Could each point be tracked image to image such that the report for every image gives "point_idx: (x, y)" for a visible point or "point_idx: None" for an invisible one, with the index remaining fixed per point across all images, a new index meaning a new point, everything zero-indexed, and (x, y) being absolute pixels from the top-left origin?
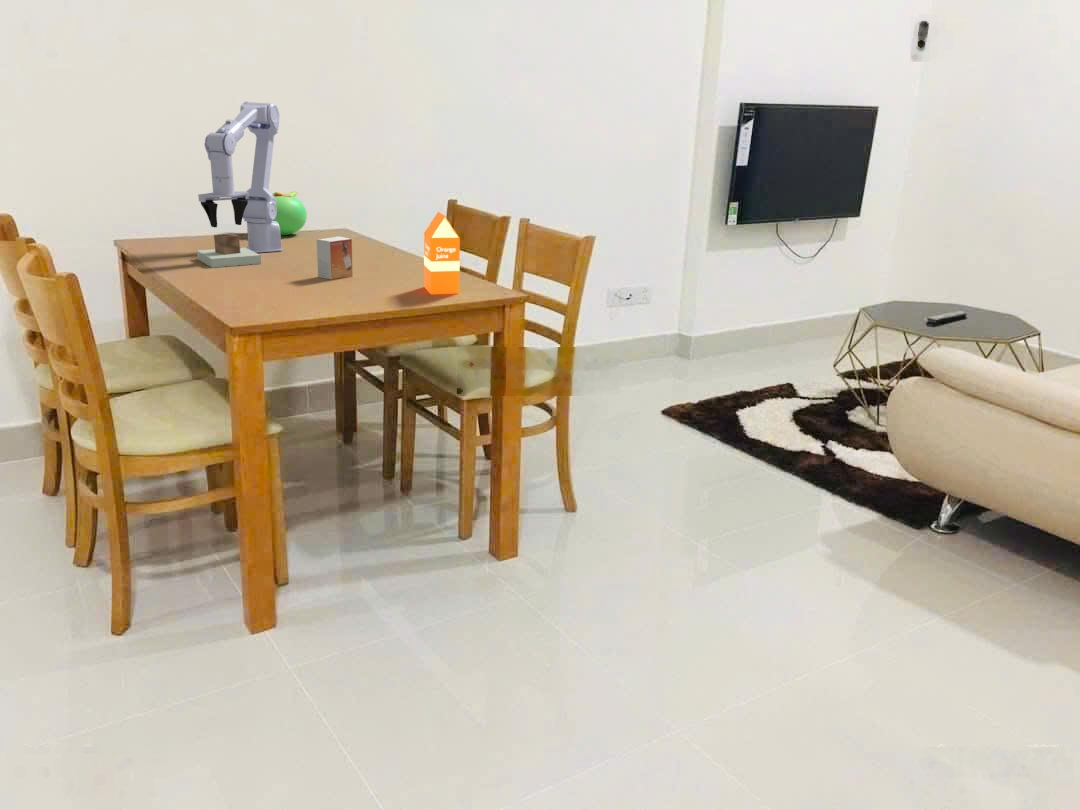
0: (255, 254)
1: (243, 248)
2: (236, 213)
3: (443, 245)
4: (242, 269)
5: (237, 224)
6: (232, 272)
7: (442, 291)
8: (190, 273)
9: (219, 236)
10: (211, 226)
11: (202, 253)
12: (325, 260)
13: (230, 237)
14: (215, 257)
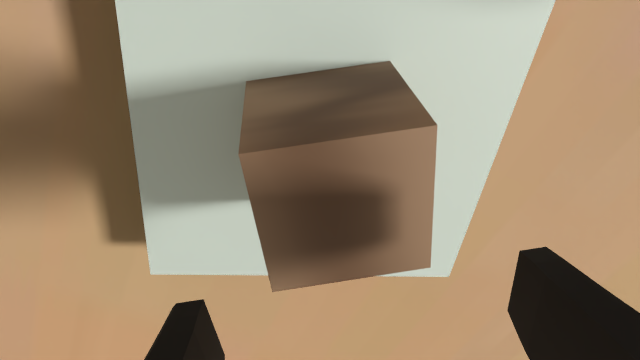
0: (439, 252)
1: (521, 21)
2: None
3: None
4: (289, 311)
5: (513, 288)
6: (224, 343)
7: None
8: (25, 307)
9: (260, 243)
10: (173, 314)
11: (130, 86)
12: None
13: (343, 274)
14: (186, 249)
